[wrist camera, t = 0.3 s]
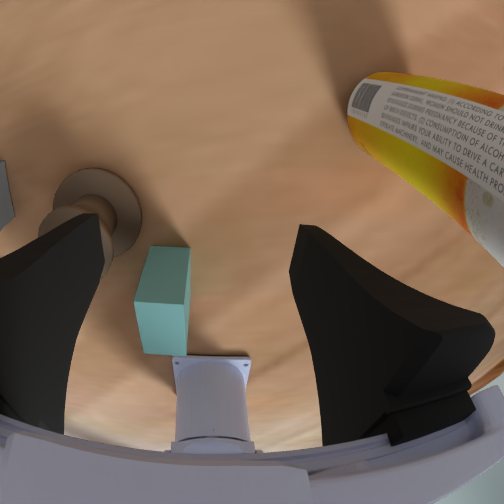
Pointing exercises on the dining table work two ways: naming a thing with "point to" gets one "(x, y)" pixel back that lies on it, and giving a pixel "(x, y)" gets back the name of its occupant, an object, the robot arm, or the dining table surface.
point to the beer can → (438, 145)
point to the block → (164, 301)
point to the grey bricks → (5, 198)
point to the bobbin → (99, 209)
